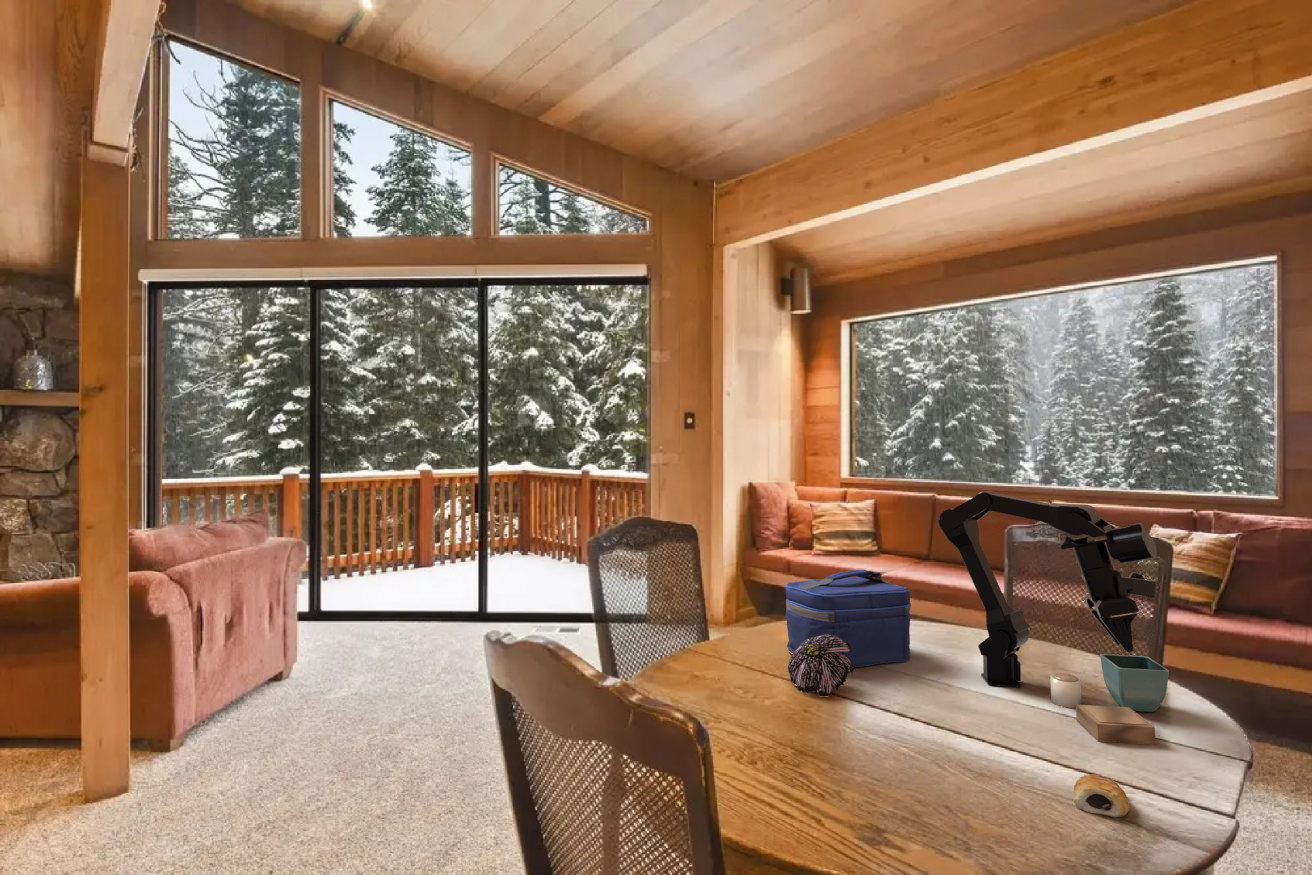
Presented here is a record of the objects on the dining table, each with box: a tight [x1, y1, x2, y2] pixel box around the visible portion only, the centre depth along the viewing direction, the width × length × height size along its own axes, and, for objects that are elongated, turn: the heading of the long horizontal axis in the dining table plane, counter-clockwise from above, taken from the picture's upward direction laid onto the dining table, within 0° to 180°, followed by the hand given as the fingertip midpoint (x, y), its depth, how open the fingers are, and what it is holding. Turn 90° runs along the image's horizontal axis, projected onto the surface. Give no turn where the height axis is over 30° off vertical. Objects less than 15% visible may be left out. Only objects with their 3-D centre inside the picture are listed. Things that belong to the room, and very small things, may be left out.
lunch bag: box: [784, 569, 912, 669], centre depth 171 cm, size 31×21×20 cm
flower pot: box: [1099, 653, 1170, 713], centre depth 135 cm, size 9×9×9 cm
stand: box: [1075, 704, 1156, 745], centre depth 124 cm, size 9×9×3 cm
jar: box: [1050, 672, 1082, 709], centre depth 137 cm, size 5×5×5 cm
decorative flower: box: [787, 634, 854, 697], centre depth 149 cm, size 14×12×15 cm
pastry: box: [1072, 773, 1130, 818], centre depth 100 cm, size 9×7×4 cm
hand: (1125, 647), depth 132 cm, fingers open, 9 cm apart
